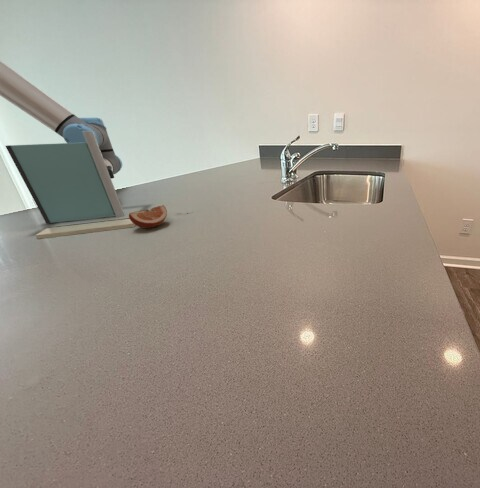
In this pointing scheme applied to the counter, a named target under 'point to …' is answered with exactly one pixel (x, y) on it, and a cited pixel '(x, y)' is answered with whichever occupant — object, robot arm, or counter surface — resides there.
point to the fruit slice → (149, 217)
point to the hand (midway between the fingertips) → (59, 181)
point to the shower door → (62, 180)
